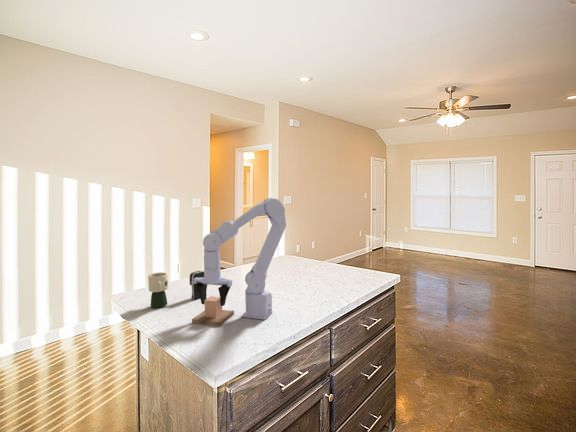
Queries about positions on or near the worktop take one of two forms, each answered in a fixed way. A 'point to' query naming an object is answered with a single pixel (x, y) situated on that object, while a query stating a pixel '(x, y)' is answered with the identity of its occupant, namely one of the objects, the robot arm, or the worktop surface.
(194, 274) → the battery charger
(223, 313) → the walnut board
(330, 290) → the worktop surface
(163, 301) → the character mug
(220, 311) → the terracotta block
